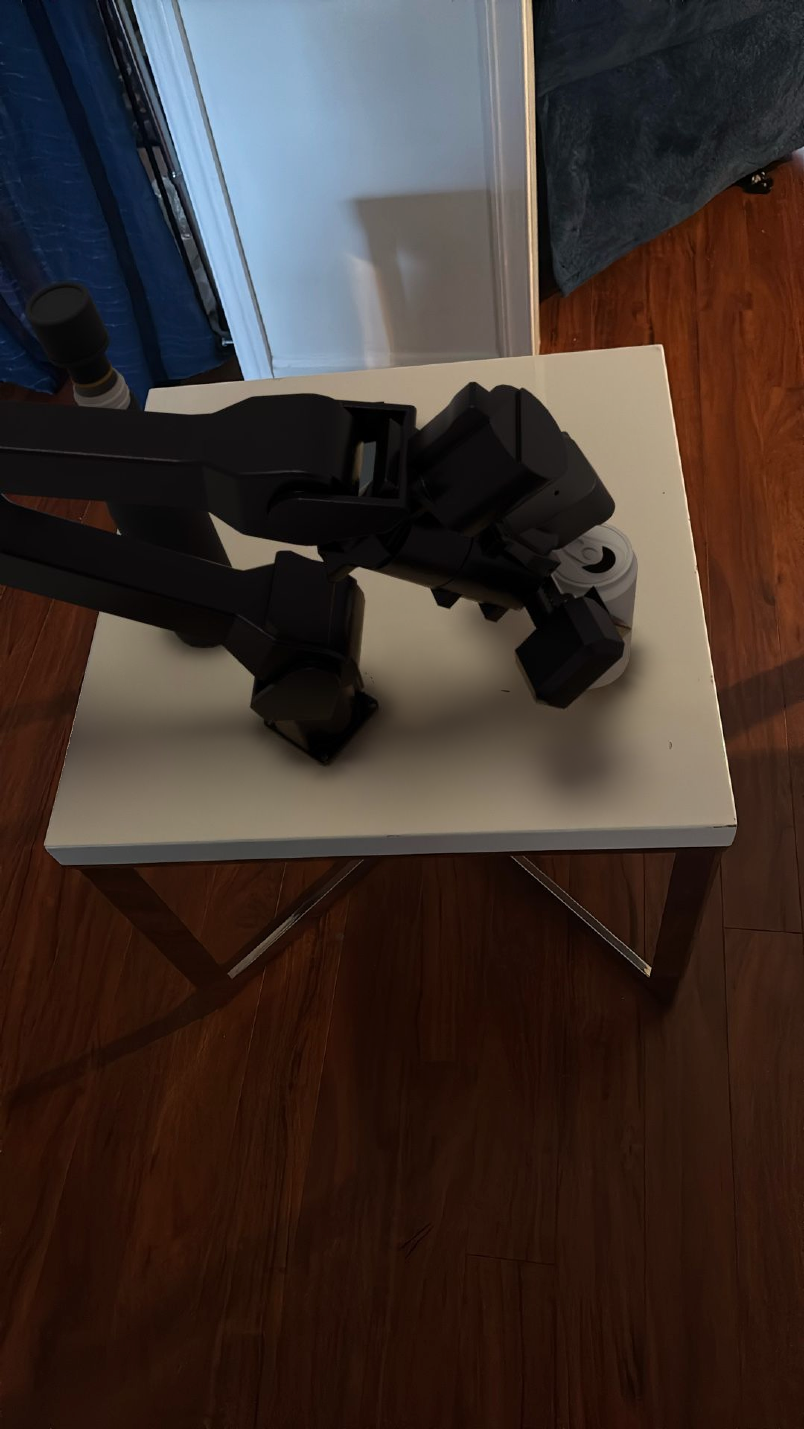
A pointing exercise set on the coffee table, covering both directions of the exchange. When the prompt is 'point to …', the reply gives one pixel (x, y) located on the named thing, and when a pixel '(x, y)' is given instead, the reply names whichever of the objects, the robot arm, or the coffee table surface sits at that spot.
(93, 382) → the wine bottle
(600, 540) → the beverage can
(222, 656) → the coffee table surface
